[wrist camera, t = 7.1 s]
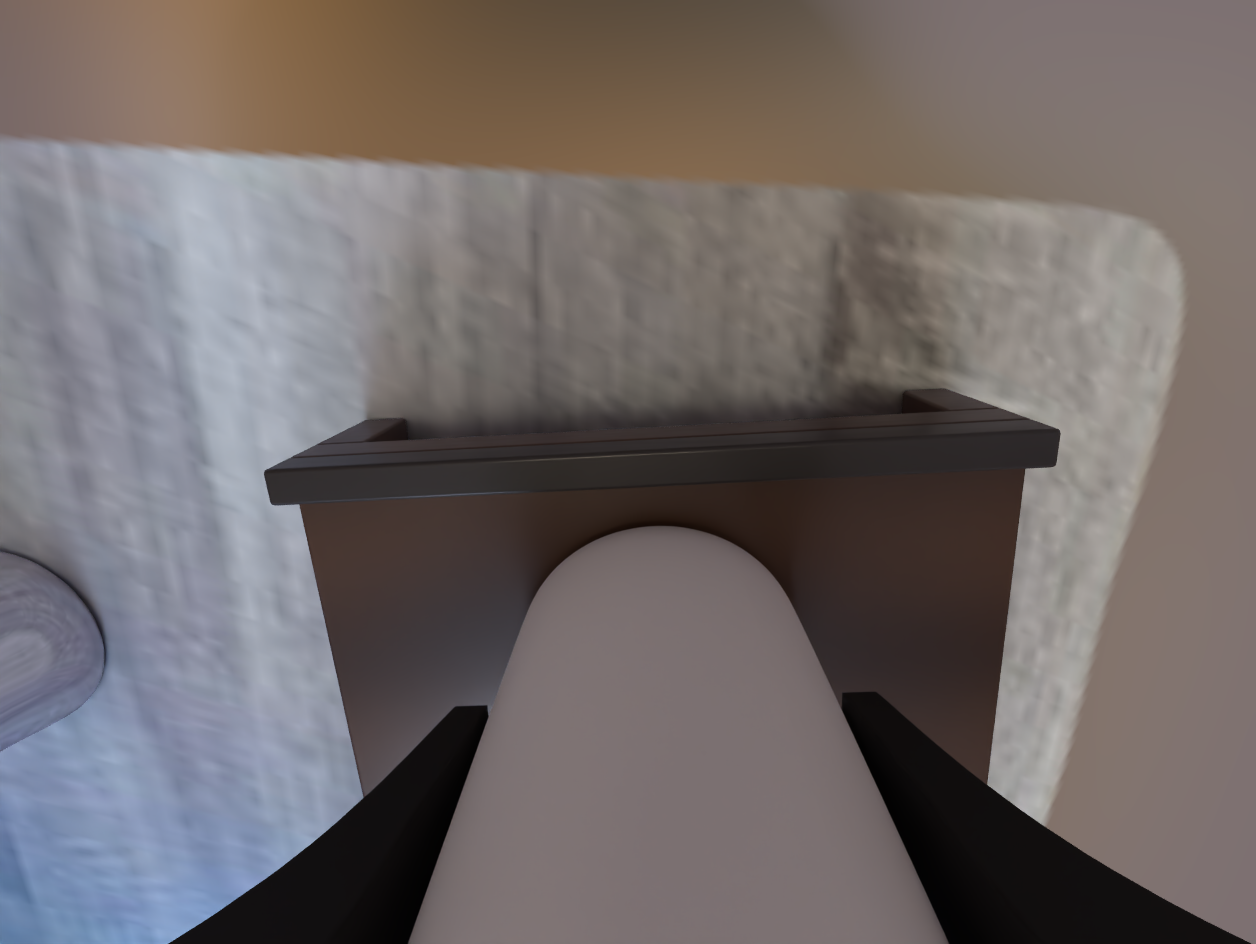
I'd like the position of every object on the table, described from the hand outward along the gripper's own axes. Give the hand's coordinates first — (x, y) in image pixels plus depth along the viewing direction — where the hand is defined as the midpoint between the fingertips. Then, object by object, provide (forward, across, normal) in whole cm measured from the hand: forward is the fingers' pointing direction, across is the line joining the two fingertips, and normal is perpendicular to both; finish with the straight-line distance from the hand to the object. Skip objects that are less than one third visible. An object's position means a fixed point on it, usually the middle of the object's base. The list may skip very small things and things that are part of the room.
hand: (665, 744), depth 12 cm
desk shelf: (+7, 0, 0) cm, 7 cm away
